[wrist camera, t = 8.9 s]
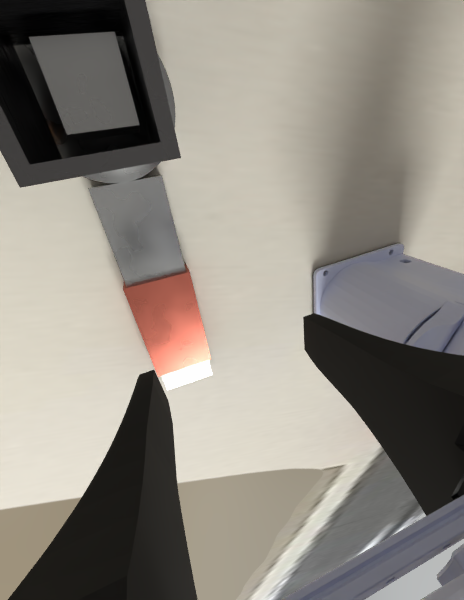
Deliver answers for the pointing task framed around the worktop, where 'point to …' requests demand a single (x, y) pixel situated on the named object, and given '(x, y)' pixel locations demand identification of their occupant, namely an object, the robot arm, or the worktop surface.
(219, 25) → the worktop surface
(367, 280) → the robot arm
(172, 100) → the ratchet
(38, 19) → the hollow square tube
